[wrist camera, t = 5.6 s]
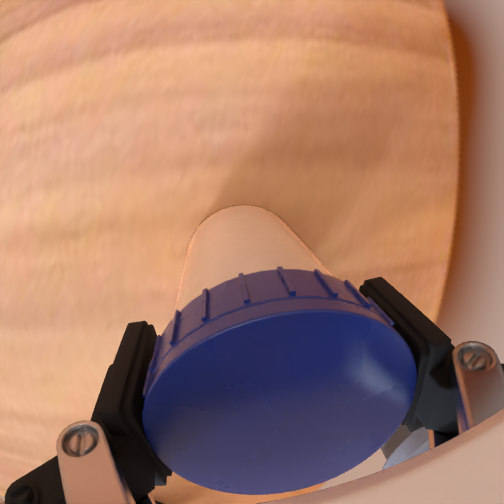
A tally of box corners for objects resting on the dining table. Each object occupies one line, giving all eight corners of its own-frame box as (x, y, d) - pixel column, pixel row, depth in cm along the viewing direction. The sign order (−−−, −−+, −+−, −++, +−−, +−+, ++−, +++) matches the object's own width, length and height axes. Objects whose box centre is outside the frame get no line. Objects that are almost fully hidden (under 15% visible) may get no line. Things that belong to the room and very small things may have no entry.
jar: (319, 250, 18) (427, 367, 8) (250, 327, 19) (286, 482, 9) (234, 181, 16) (269, 241, 6) (165, 270, 17) (118, 420, 7)
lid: (194, 223, 7) (187, 254, 5) (423, 306, 8) (463, 342, 6) (132, 424, 8) (123, 474, 6) (317, 455, 10) (332, 496, 8)
